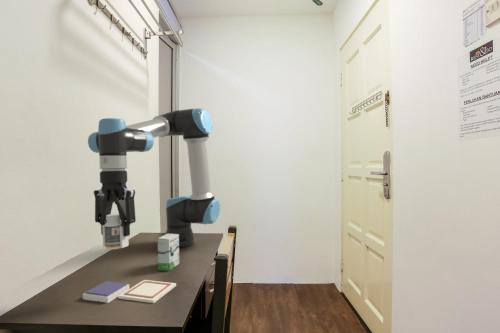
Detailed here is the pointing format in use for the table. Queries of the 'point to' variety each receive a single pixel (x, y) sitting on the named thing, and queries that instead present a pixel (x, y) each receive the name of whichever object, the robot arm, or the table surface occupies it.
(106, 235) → the pill bottle
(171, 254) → the ink box
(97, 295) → the ink pad
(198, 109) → the robot arm
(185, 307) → the table surface
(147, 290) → the print card
